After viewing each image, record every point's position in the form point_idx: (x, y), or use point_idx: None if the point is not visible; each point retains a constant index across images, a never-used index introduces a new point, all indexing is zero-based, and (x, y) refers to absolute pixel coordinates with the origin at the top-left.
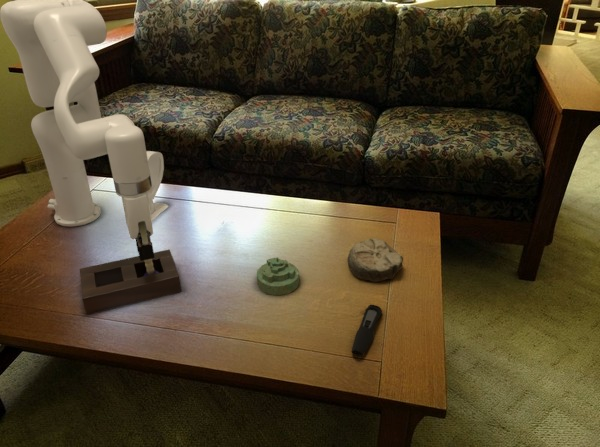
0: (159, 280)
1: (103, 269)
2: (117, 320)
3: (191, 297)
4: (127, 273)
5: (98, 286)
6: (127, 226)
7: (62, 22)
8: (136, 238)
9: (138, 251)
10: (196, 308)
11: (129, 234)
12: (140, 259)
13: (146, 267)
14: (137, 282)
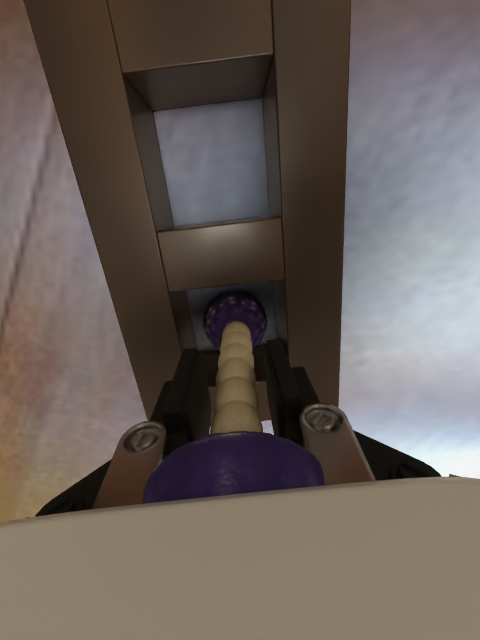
0: (134, 373)
1: (286, 119)
2: (38, 188)
3: (134, 410)
4: (214, 249)
5: (263, 100)
6: (138, 637)
7: None
8: (148, 479)
9: (172, 382)
10: (83, 417)
11: (37, 536)
12: (182, 353)
13: (229, 333)
14: (134, 292)
